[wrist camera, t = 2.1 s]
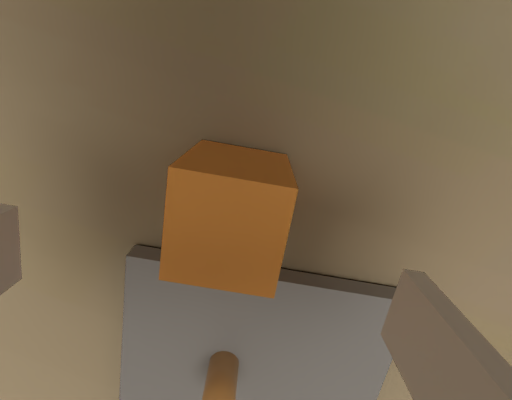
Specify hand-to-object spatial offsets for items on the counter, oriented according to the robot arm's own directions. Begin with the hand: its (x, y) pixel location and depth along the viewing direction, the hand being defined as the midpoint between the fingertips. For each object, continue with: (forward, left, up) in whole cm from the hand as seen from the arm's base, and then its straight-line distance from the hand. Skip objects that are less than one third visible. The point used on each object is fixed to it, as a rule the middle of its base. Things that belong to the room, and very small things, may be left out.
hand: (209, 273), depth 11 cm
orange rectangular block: (0, 0, -9) cm, 9 cm away
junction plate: (+16, +3, -9) cm, 18 cm away
